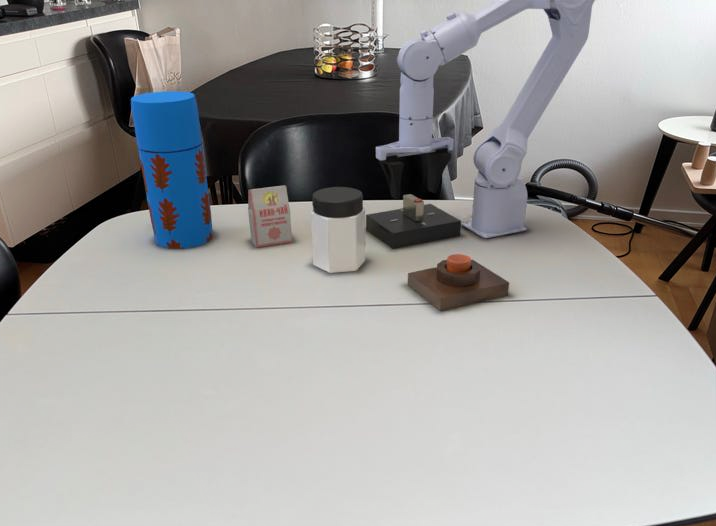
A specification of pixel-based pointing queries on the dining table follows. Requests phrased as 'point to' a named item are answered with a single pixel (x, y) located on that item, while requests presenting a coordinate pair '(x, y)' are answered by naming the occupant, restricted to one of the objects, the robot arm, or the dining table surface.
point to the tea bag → (269, 216)
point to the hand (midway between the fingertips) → (414, 194)
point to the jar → (338, 229)
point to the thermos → (173, 167)
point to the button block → (457, 285)
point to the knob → (413, 207)
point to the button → (458, 263)
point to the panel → (412, 227)
